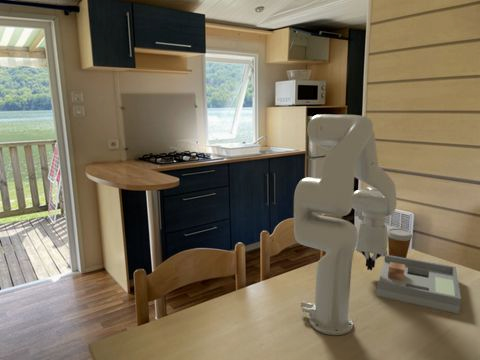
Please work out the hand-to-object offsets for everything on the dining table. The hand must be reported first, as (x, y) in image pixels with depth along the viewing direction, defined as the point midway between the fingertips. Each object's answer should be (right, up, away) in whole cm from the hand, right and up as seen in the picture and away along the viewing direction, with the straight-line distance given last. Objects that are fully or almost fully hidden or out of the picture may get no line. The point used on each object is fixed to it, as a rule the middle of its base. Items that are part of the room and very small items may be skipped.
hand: (369, 268), depth 135 cm
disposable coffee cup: (+17, 0, +16) cm, 24 cm away
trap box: (+14, -5, -6) cm, 16 cm away
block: (+8, -2, -4) cm, 9 cm away
